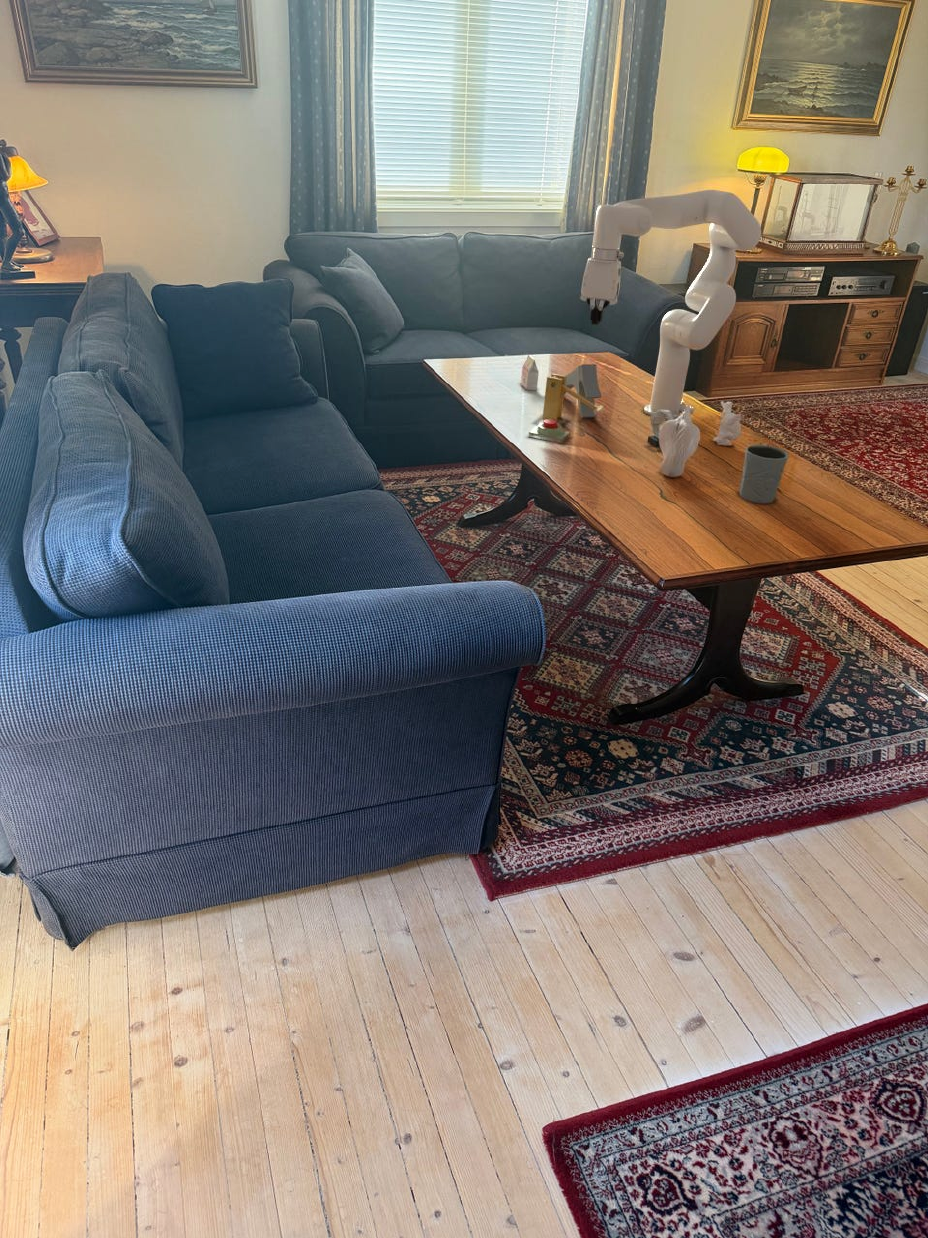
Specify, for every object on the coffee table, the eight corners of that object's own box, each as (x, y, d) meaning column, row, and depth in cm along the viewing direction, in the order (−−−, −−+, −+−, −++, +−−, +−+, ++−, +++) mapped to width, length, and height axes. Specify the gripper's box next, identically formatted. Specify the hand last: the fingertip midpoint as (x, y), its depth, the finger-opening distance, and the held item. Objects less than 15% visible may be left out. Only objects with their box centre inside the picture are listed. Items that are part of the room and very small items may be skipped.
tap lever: (601, 412, 248) (605, 405, 247) (595, 416, 244) (599, 410, 242) (553, 381, 250) (556, 374, 248) (547, 385, 246) (550, 378, 244)
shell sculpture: (670, 482, 216) (683, 414, 207) (650, 471, 222) (662, 404, 213) (694, 478, 220) (709, 411, 210) (674, 467, 226) (687, 402, 217)
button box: (568, 437, 242) (570, 425, 240) (561, 444, 236) (562, 432, 235) (536, 431, 245) (537, 419, 243) (528, 437, 240) (529, 425, 238)
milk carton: (531, 383, 287) (534, 354, 282) (536, 389, 282) (539, 359, 277) (520, 384, 287) (523, 354, 281) (526, 389, 281) (529, 359, 276)
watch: (658, 442, 243) (665, 405, 237) (674, 452, 237) (682, 414, 231) (642, 444, 241) (649, 406, 235) (658, 453, 235) (665, 415, 229)
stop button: (558, 426, 240) (559, 420, 239) (554, 430, 237) (555, 424, 236) (545, 424, 241) (546, 418, 240) (541, 427, 238) (541, 421, 237)
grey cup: (770, 508, 206) (782, 461, 200) (730, 497, 210) (741, 452, 204) (780, 495, 213) (792, 450, 207) (741, 485, 218) (752, 441, 211)
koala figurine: (705, 439, 247) (713, 399, 241) (723, 437, 250) (732, 398, 244) (723, 449, 241) (732, 408, 235) (741, 447, 243) (751, 407, 237)
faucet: (549, 430, 277) (585, 418, 248) (546, 378, 275) (583, 360, 246) (566, 429, 279) (604, 417, 250) (564, 378, 277) (602, 360, 248)
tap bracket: (568, 420, 255) (574, 375, 248) (559, 428, 248) (564, 382, 241) (543, 415, 258) (548, 370, 251) (534, 423, 251) (538, 377, 244)
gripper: (634, 256, 231) (623, 325, 240) (582, 250, 236) (574, 317, 245) (627, 259, 225) (617, 329, 234) (574, 253, 230) (566, 322, 239)
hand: (595, 323), depth 240 cm, fingers closed
